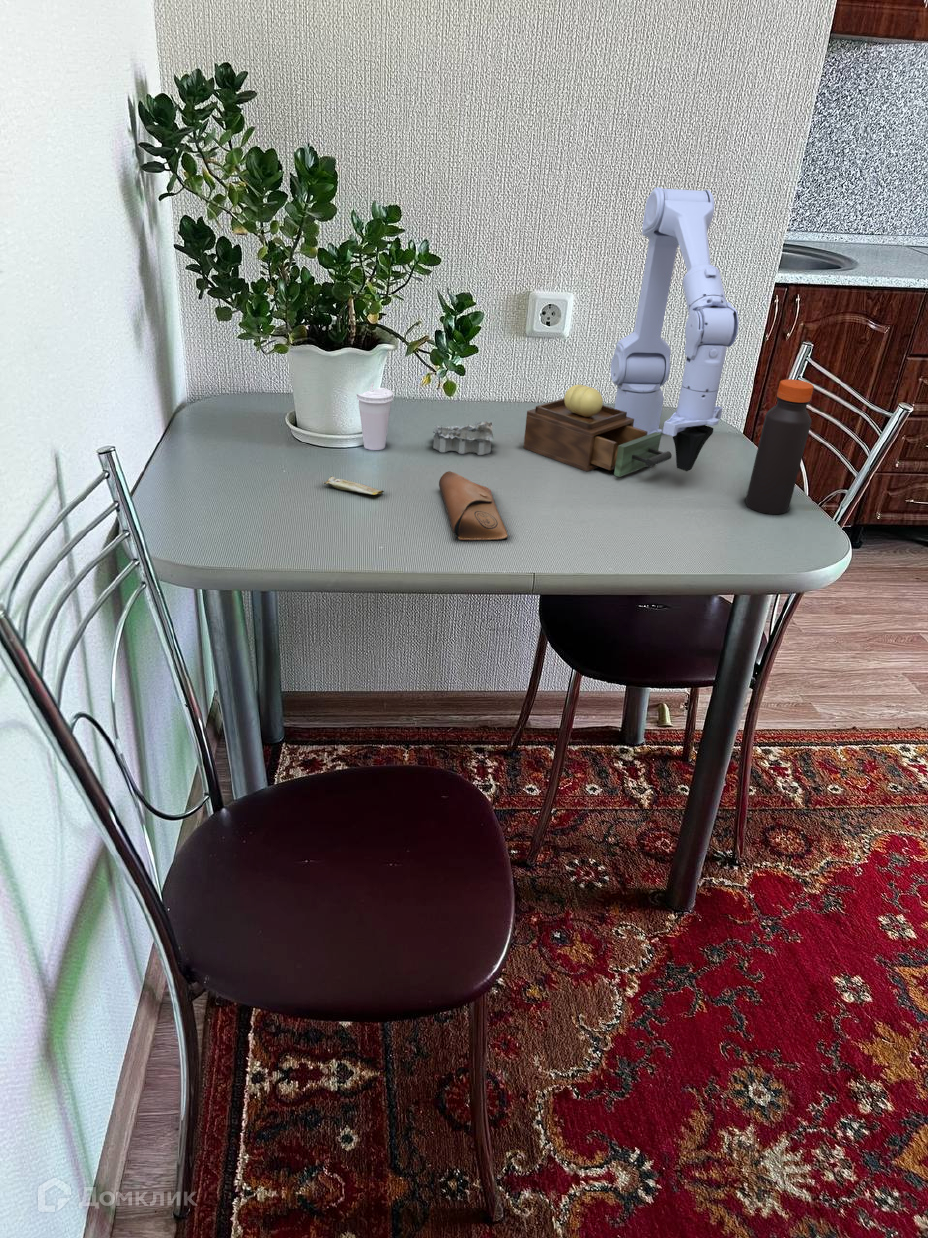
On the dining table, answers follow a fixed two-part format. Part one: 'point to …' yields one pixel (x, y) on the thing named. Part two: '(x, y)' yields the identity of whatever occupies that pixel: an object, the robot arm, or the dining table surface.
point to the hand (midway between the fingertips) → (684, 468)
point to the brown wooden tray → (545, 410)
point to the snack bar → (351, 486)
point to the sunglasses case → (471, 509)
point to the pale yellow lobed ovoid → (583, 400)
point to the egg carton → (464, 438)
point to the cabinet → (566, 436)
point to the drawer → (627, 450)
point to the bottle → (780, 449)
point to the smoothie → (375, 416)
